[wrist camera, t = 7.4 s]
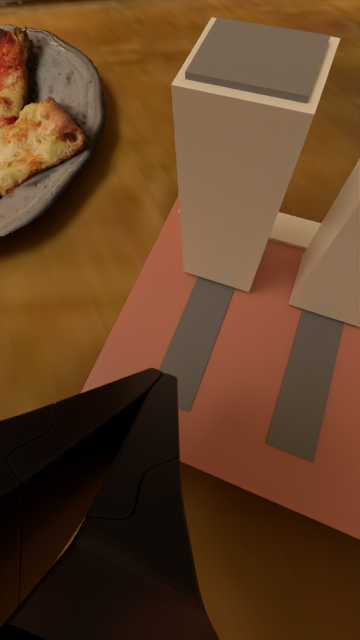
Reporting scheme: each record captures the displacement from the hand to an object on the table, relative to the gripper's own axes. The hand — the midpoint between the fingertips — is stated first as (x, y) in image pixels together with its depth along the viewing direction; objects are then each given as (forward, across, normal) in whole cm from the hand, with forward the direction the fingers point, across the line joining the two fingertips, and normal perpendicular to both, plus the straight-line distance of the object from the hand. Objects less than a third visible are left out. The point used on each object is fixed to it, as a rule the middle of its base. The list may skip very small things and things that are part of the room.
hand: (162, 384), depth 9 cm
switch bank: (+8, -5, +1) cm, 10 cm away
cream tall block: (+9, 0, -2) cm, 9 cm away
